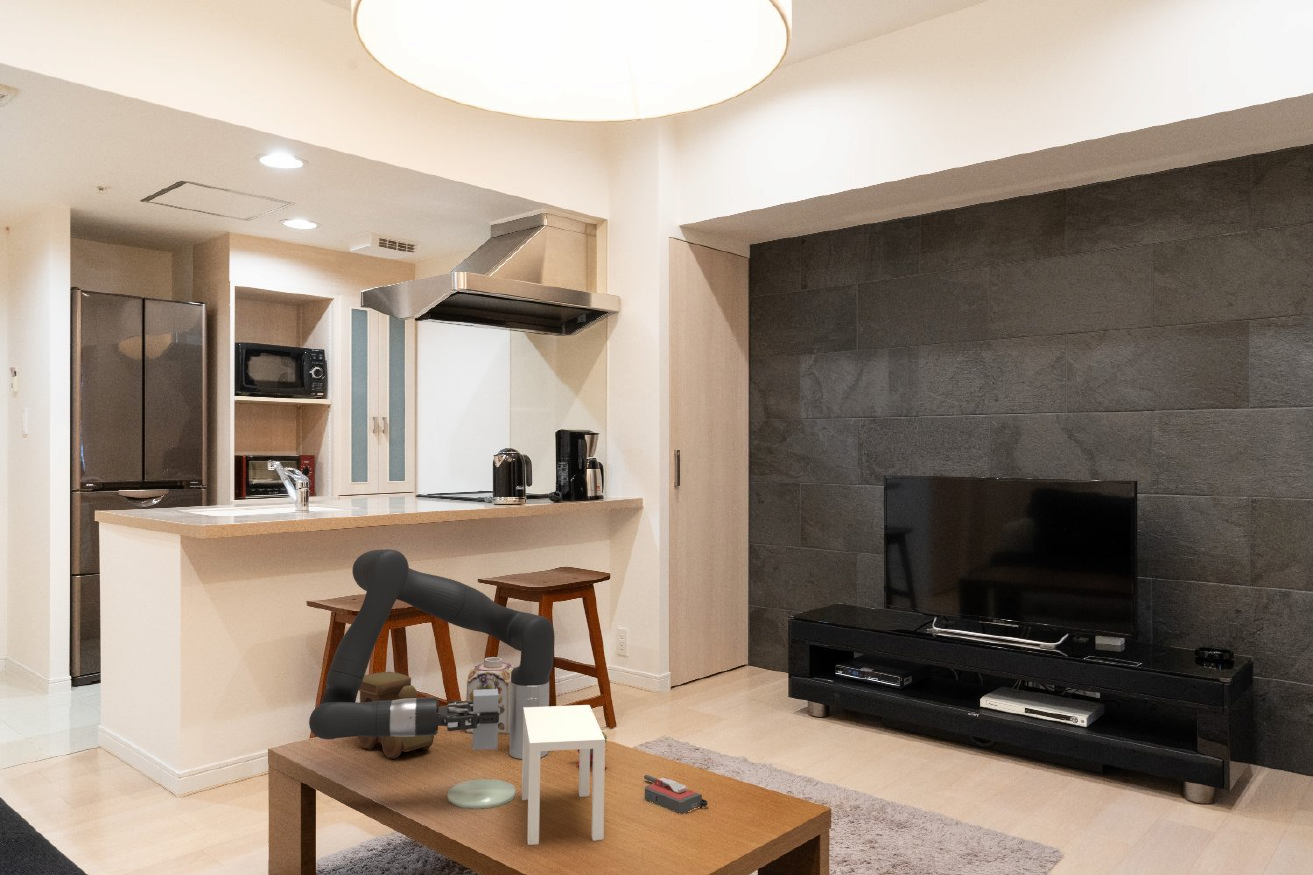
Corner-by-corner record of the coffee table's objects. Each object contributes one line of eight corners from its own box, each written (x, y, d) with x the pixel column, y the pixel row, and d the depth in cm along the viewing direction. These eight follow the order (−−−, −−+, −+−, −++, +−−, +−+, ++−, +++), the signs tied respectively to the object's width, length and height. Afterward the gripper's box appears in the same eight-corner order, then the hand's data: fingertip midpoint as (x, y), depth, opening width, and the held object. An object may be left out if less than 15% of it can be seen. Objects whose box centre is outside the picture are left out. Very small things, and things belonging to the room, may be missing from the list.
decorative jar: (475, 720, 244) (476, 653, 244) (518, 721, 243) (519, 654, 244) (464, 733, 232) (465, 663, 232) (509, 734, 231) (510, 664, 232)
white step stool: (527, 844, 166) (529, 742, 166) (521, 796, 189) (523, 707, 190) (603, 839, 168) (605, 739, 169) (588, 792, 192) (589, 704, 192)
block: (472, 742, 189) (473, 689, 189) (496, 741, 190) (497, 688, 190) (472, 750, 184) (473, 696, 185) (497, 748, 185) (498, 695, 186)
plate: (477, 779, 199) (477, 774, 199) (528, 791, 192) (528, 786, 192) (433, 800, 186) (433, 795, 187) (486, 813, 180) (486, 808, 180)
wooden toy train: (350, 745, 221) (351, 677, 221) (390, 734, 230) (391, 669, 230) (397, 764, 208) (399, 691, 209) (438, 752, 217) (440, 682, 217)
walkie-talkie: (715, 807, 186) (648, 781, 200) (715, 785, 186) (648, 761, 200) (685, 818, 180) (618, 791, 194) (685, 796, 180) (619, 770, 194)
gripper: (412, 708, 178) (500, 704, 181) (416, 689, 192) (497, 686, 195) (411, 746, 177) (499, 742, 181) (416, 725, 191) (497, 721, 195)
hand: (498, 713), depth 188 cm, fingers closed on block, 5 cm apart
